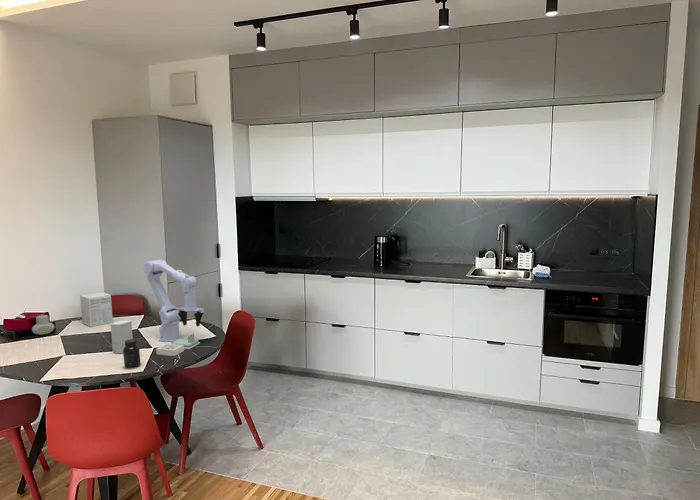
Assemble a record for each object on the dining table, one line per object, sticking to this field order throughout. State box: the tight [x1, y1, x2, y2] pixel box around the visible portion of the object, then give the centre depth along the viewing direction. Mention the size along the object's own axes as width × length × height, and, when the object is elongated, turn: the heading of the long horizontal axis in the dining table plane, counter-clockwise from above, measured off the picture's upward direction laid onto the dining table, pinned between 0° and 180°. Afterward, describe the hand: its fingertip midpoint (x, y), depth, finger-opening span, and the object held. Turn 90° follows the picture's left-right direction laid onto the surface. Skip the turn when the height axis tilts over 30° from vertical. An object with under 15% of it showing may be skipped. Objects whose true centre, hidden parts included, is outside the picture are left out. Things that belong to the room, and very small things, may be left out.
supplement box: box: [79, 291, 114, 328], centre depth 295 cm, size 13×13×18 cm
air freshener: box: [31, 314, 56, 336], centre depth 275 cm, size 11×8×10 cm
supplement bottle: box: [122, 338, 141, 369], centre depth 222 cm, size 7×7×12 cm
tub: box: [155, 343, 185, 357], centre depth 240 cm, size 10×8×3 cm
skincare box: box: [110, 319, 134, 355], centre depth 243 cm, size 8×6×15 cm
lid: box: [170, 332, 199, 347], centre depth 251 cm, size 10×8×6 cm
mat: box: [184, 341, 201, 350], centre depth 252 cm, size 12×10×1 cm
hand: (191, 325), depth 254 cm, fingers open, 7 cm apart
